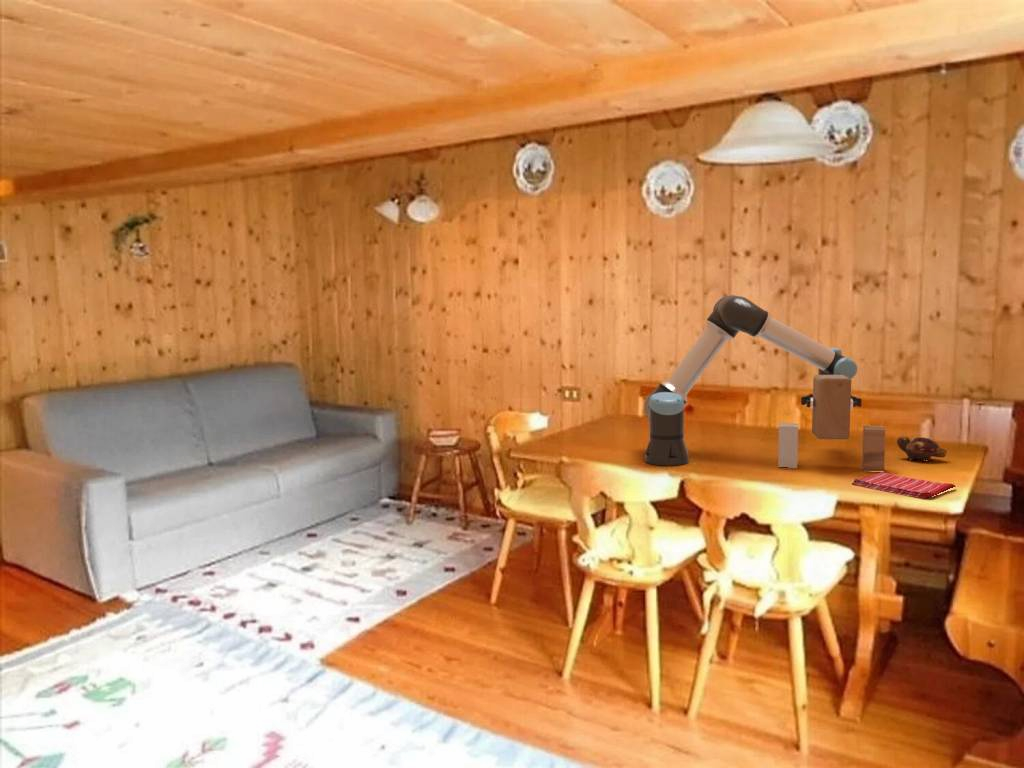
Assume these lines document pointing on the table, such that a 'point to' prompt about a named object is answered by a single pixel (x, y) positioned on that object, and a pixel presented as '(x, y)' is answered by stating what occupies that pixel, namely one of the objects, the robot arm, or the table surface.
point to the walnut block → (873, 448)
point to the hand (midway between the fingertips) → (831, 405)
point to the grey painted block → (788, 445)
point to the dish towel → (903, 485)
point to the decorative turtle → (920, 448)
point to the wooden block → (831, 406)
